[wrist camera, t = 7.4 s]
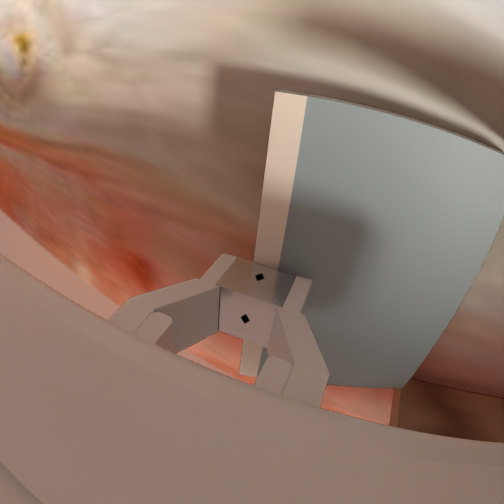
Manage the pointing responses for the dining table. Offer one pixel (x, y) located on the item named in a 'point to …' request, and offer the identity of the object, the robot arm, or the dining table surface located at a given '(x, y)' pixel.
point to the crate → (447, 412)
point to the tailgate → (373, 230)
